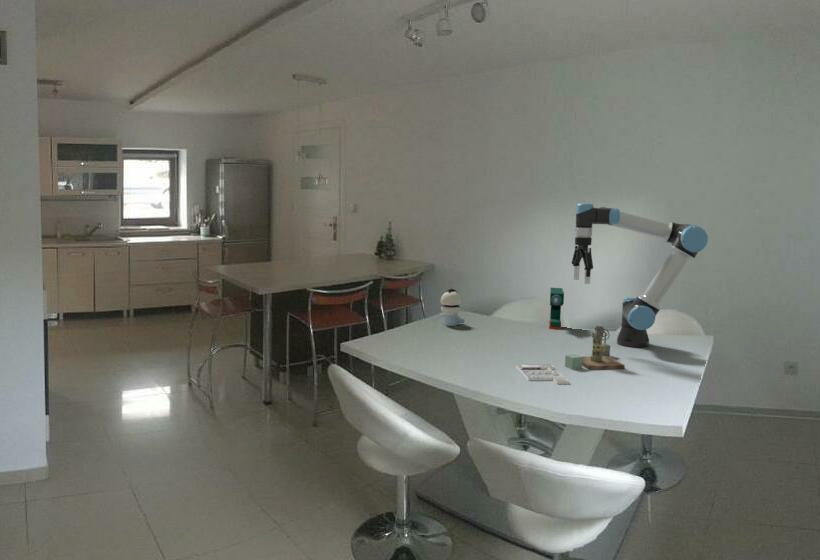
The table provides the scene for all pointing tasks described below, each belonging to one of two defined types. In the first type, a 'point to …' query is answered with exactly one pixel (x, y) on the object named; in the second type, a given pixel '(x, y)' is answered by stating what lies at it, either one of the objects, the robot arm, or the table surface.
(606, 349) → the grey rounded block
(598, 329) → the grenade
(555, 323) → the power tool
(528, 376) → the floor plan model
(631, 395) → the table surface
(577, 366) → the green block
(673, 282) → the robot arm
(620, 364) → the walnut board
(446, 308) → the toy
